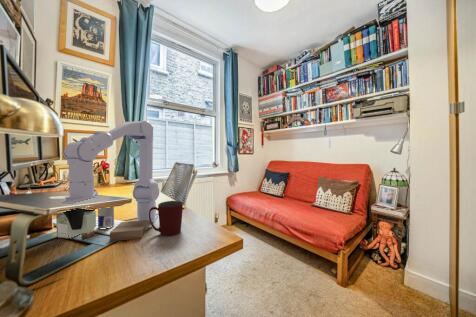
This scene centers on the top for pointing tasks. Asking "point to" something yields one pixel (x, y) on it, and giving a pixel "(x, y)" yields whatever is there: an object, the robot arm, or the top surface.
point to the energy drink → (105, 217)
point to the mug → (169, 217)
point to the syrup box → (62, 226)
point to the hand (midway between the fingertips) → (82, 225)
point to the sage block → (84, 223)
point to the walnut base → (129, 230)
